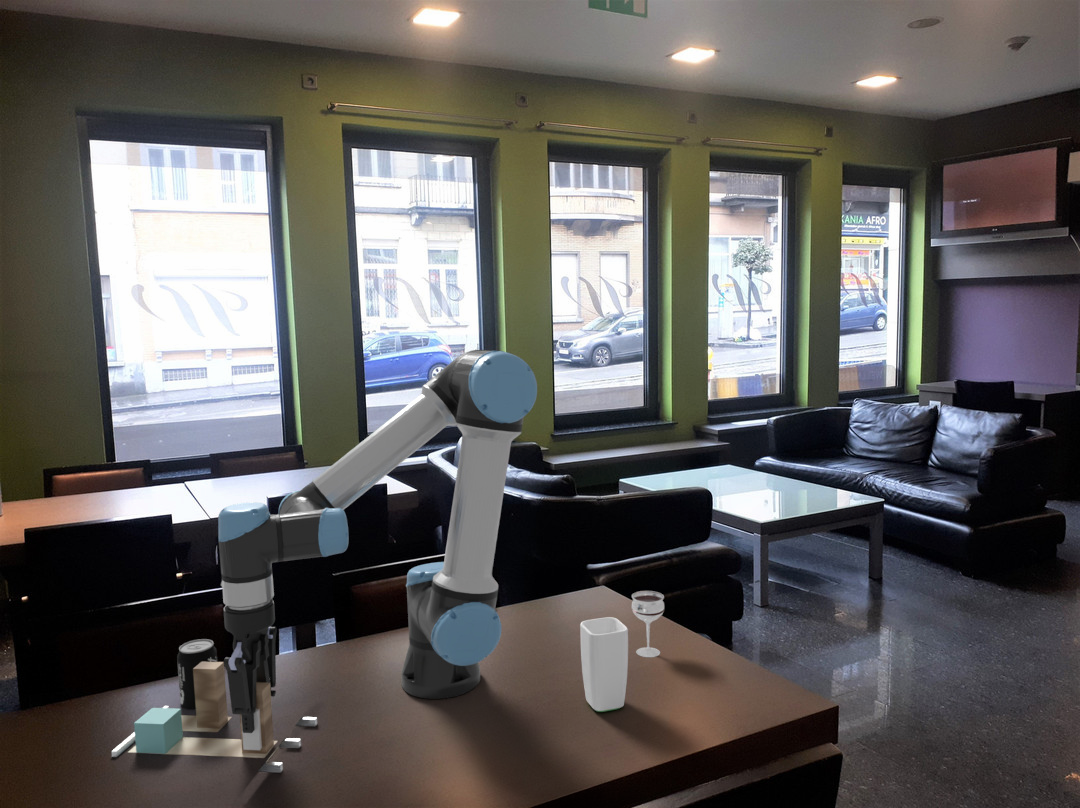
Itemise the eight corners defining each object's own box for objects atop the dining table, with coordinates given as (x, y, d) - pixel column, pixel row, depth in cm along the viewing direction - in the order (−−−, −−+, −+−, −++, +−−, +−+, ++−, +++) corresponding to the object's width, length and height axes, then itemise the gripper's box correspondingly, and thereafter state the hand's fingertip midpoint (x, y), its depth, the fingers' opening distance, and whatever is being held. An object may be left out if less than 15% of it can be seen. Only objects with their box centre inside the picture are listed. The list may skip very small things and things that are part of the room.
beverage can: (205, 718, 140) (201, 654, 138) (173, 715, 141) (168, 651, 140) (227, 701, 146) (223, 639, 145) (196, 698, 147) (191, 637, 146)
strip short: (232, 723, 137) (228, 659, 136) (217, 738, 132) (213, 672, 131) (167, 721, 139) (162, 657, 137) (150, 736, 134) (145, 670, 132)
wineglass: (641, 642, 168) (641, 588, 167) (670, 650, 164) (670, 594, 163) (625, 654, 163) (625, 598, 161) (655, 662, 159) (654, 604, 157)
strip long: (278, 747, 129) (274, 679, 128) (264, 764, 124) (260, 694, 123) (146, 742, 132) (141, 675, 130) (128, 759, 127) (122, 690, 125)
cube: (183, 737, 131) (180, 708, 130) (165, 753, 126) (163, 724, 125) (154, 736, 131) (152, 707, 131) (136, 752, 126) (133, 723, 126)
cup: (631, 711, 139) (631, 630, 138) (593, 718, 137) (592, 636, 135) (615, 692, 146) (614, 615, 144) (578, 699, 144) (577, 621, 142)
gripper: (249, 584, 132) (258, 717, 135) (199, 620, 117) (210, 769, 119) (292, 585, 132) (300, 718, 134) (247, 621, 116) (257, 772, 118)
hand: (257, 742), depth 127 cm, fingers closed on strip long, 3 cm apart
